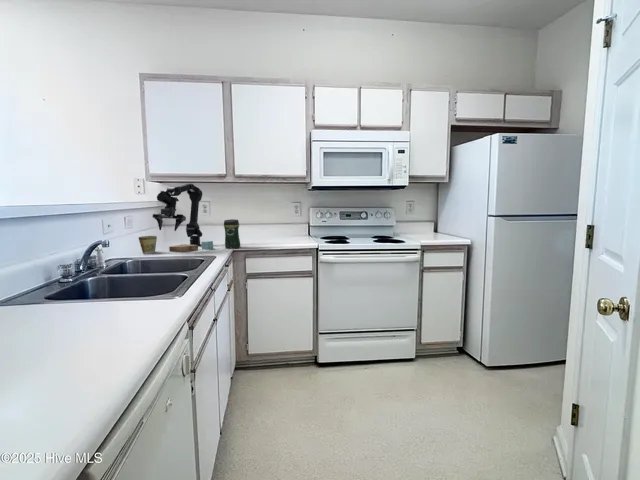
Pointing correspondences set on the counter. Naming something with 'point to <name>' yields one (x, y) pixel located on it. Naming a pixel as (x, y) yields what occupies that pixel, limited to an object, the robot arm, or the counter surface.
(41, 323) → the counter surface
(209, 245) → the teal cube
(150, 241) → the ceramic cup
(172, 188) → the robot arm
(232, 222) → the coffee jar
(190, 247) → the walnut plinth
